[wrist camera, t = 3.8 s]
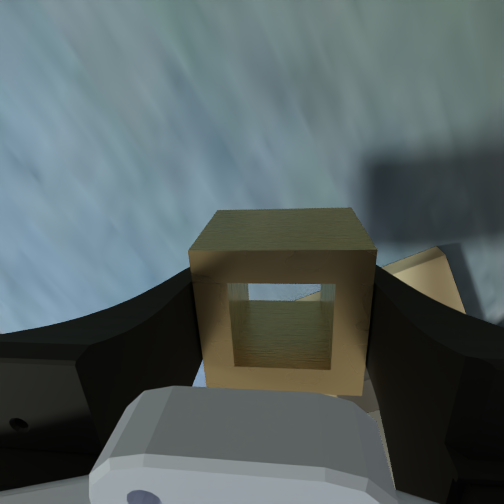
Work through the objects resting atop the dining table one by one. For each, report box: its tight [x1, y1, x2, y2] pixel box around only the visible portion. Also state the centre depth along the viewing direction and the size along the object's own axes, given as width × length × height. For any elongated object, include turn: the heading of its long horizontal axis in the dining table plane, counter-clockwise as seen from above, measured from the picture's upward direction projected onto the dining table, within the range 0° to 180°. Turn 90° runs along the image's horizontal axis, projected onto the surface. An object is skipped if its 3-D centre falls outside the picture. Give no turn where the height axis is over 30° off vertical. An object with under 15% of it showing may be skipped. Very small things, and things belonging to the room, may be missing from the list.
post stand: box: [295, 246, 466, 413], centre depth 20 cm, size 14×9×4 cm, turn 118°
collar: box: [188, 208, 377, 396], centre depth 12 cm, size 5×5×4 cm
